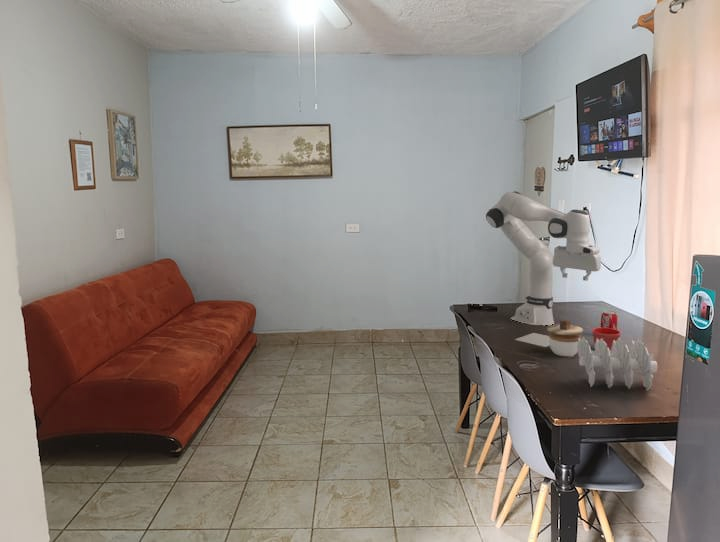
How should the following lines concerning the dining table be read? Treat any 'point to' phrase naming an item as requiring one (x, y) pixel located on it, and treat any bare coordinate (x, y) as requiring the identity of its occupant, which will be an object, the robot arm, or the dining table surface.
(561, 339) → the lidded bowl
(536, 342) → the mat
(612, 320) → the soda can
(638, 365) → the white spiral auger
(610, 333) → the flower pot
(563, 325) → the lid
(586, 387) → the dining table surface
